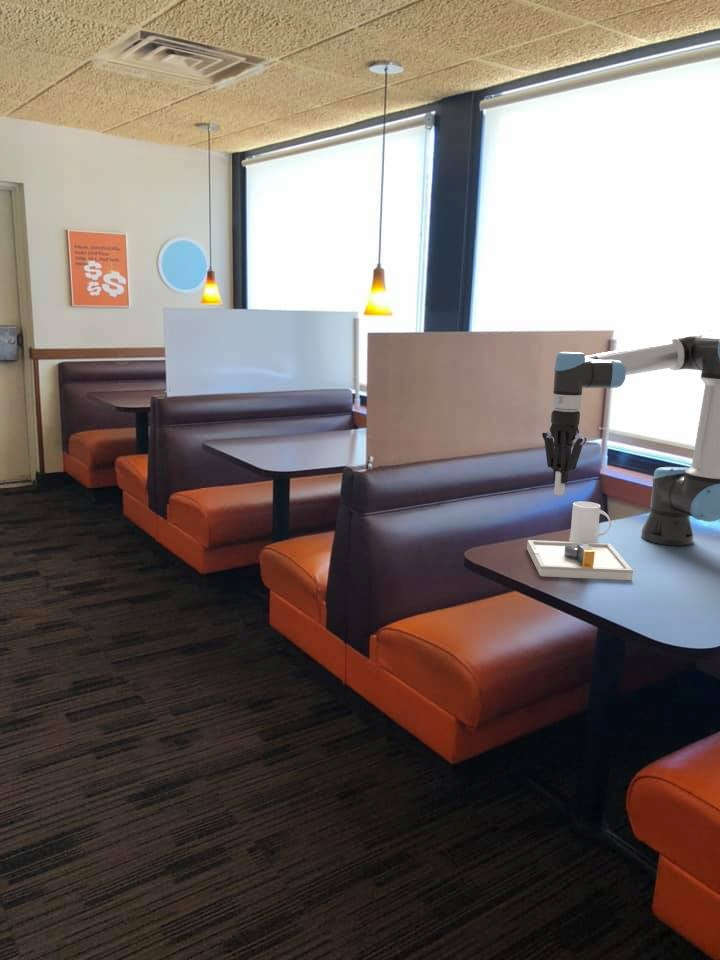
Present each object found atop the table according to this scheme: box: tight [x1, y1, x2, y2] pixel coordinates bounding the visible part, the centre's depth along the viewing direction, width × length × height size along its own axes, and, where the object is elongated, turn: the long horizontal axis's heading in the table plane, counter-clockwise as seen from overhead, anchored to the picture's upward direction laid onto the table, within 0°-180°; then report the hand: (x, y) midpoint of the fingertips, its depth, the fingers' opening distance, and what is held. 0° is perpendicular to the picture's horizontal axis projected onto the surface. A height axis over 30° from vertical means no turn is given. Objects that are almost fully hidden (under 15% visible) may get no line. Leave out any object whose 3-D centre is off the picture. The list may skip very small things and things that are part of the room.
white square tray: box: [526, 539, 634, 581], centre depth 214 cm, size 24×24×3 cm
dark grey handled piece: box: [564, 544, 595, 567], centre depth 210 cm, size 14×7×4 cm, turn 1°
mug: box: [568, 500, 612, 543], centre depth 233 cm, size 12×8×12 cm
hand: (559, 494), depth 212 cm, fingers closed
